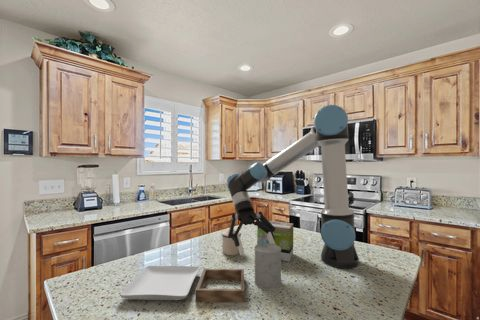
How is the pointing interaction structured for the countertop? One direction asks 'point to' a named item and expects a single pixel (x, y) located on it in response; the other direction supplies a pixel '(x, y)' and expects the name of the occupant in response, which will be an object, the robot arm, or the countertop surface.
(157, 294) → the salad plate
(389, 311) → the countertop surface
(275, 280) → the grey speckled cylinder
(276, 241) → the tea box
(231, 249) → the teacup with lid
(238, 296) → the collar
